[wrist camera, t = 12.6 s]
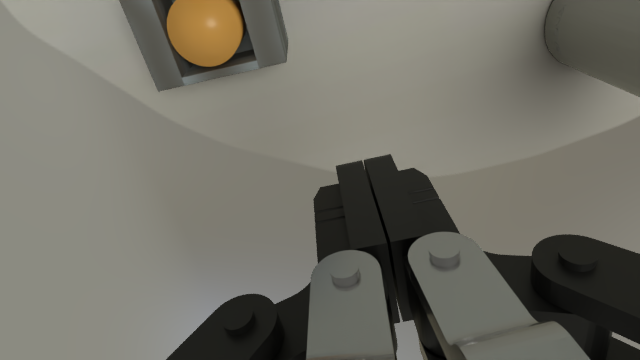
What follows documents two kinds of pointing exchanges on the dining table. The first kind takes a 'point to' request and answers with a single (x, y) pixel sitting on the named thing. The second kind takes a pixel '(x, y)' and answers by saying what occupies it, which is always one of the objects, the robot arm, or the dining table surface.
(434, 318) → the robot arm
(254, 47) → the stand
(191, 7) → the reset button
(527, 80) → the dining table surface
